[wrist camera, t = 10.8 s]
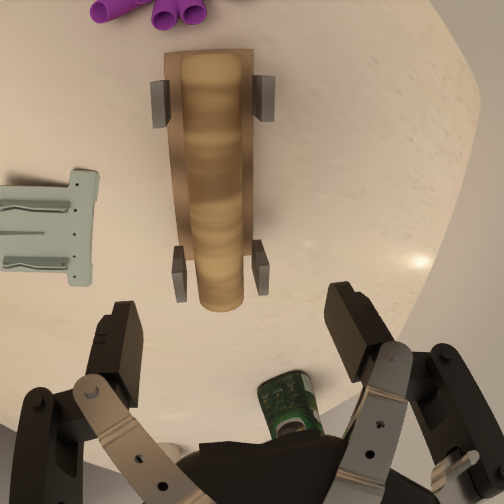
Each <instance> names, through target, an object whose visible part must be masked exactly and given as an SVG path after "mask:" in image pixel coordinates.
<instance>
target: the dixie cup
mask: <svg viewBox="0 0 504 504" xmlns="http://www.w3.org/2000/svg"><path fill="white" fill-rule="evenodd" d="M158 446H159V447H160V448H161V449H162V450H163V451H164V452H165V453H166V455H167V456H168V457H169V458H170V459H171V460H172V461H173V462H174V463H176V462H178V461H179V460H180V459H181V456H180V450H179V446H178V445H176V444H172V443H159V444H158Z"/></svg>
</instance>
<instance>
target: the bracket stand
mask: <svg viewBox="0 0 504 504" xmlns="http://www.w3.org/2000/svg"><path fill="white" fill-rule="evenodd" d="M202 54H241V55H242V205H243V256H246V255H252V271H253V275H254V279H255V283H256V287H257V290H258V294H259V296H262V295H268V291H269V268H270V265H269V262H268V259H267V256H266V253H265V250H264V248H263V245H262V242H261V240H253V115H254V116H255V117H257V118H258V119H259V120H260V121H261V122H274V97H275V77H274V76H263V75H253V49H224V50H201V51H186V52H175V53H165V54H164V72H165V80H160V81H155V82H150V89H151V106H152V120H153V129H154V128H163V127H166V126H167V128H168V142H169V154H170V165H171V176H172V186H173V196H174V205H175V214H176V222H177V230H178V238H179V246H174V254H173V264H172V278H173V284H174V290H175V295H176V300H177V303H180V302H187V270H186V262H185V260H195V259H194V250H193V241H192V231H191V221H190V211H189V200H188V188H187V176H186V162H185V148H184V132H183V114H182V91H181V60H180V57H184V56H191V55H202Z"/></svg>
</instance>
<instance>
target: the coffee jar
mask: <svg viewBox="0 0 504 504" xmlns="http://www.w3.org/2000/svg"><path fill="white" fill-rule="evenodd" d="M257 395H258V399H259V403H260V406H261V408H262V411H263V414H264V417H265V419H266V422H267V425H268V428H269V431H270V434H271V438H272V440H273V439H275V438H278V437H280V436H283V435H285V434H287V433H290V432H296V431H301V430H306V429H311V428H316V427H317V428H318V431H319V434H324V431H323V428H322V425H321V421H320V417H319V413H318V408H317V403H316V398H315V394H314V390H313V386H312V383H311V381H310V379H309V378H308V376H306V375H305V374H303V373H300V372H292V373H289V374H286V375H283V376H280V377H278V378H276V379H274V380H271V381H269V382H267V383H265V384H263V385H262V386H261V387H260V388H259V389H258V392H257Z"/></svg>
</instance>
